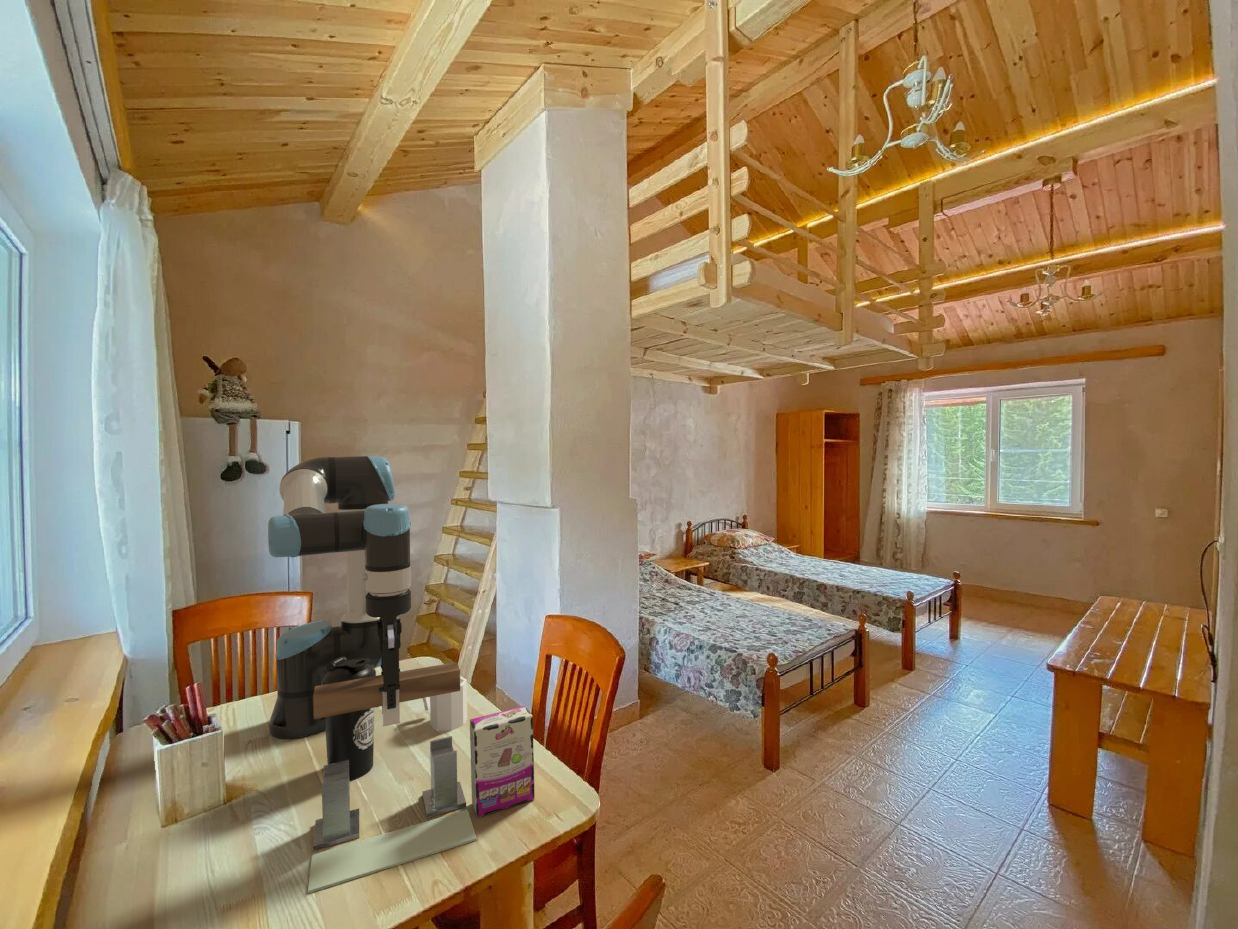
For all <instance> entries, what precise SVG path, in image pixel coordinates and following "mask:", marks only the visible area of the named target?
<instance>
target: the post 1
mask: <svg viewBox="0 0 1238 929" xmlns="http://www.w3.org/2000/svg"><path fill="white" fill-rule="evenodd" d="M350 789H351V788H350V781H349V760H346V761H341V762H337V763H333V764H324V765H323V780H322V783H321V808H322V809H321V811H322V812H321V813H322V818H318V819H315V822H314V823H315V824H314V832H313V840H312V841H313V842H312V851H313V852H314V851H319V850H320V849H324V848H327V847H332V846H334V845H339V844H342V843H345V842H348V841H352V840H356V839H358V838H360V808H356V809H352V810H351V800H350V799H351V798H350V797H351V796H350Z"/></svg>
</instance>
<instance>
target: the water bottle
mask: <svg viewBox="0 0 1238 929" xmlns="http://www.w3.org/2000/svg"><path fill="white" fill-rule="evenodd" d="M369 662H370V659H369V658H361V659H353V660H347V659H346V658H345V657H344V656H342V657H339V658H337V659H335V660H334V661H332V662H330V663H329V664H328V665H327V667H326V668H327V671H328V672H327V673H326V674H325V676H324V677H323V678H322V680H321V685H326V684H332V683H337V682H343V681H349V680H355V679H361V678H366V677H372V676H377V671H376V668H375V669H373V667H372V666H371V665H370V664H368V663H369ZM374 738H375V708H370V709H365V710H360V711H354V712H349V713H344V714H339V715H334V716H329V717H325V742H326V762H327V764H326V765H328V764H333V763H337V762H341V761H346V760H349V782H350V781H353V780H357V779H361V777H363V776H366V774H368V773H370V771H371V770H372V769H373V767H374V747H375V746H374V743H375V742H374V740H375V739H374Z"/></svg>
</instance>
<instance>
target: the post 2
mask: <svg viewBox="0 0 1238 929" xmlns="http://www.w3.org/2000/svg"><path fill="white" fill-rule="evenodd" d="M429 744H430V746H429V749H430V753H429V754H430V756H429V757H430V789H426V790H422V791H421V792H422V800H423V805H424V811H425V815H426V819H429V818H431V817H436V816H439V815H442V814H445V813H448V812H452V811H457V810H459V809H463V808H466V807H467V800H466V797H465V794H464V790H463V787H462V784H461V781H458V752H457V751H458V750H454V746H453V736H452V735H451V736H447V737H441V738H437V739H434V740H430V741H429Z"/></svg>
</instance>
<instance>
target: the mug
mask: <svg viewBox="0 0 1238 929" xmlns="http://www.w3.org/2000/svg"><path fill="white" fill-rule="evenodd" d="M422 702H423V706H424V711H426V712H427V711H430V714H429V715H430V717H429V718H430V719H429V720H430V724H429V726H430V727H431V728H432V729H434V730H435V731H436V732H450V731H451V732H452V731H454V730H456V729H458V728H461V727H463V726H465V723H466V722H467V721H468V680H467V678H465V677H463V676H462V675H460V691H457V692H452V693H447V694H441V695H436V696H431V697H426V698H422ZM462 725H463V726H462ZM460 726H461V727H460Z"/></svg>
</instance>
